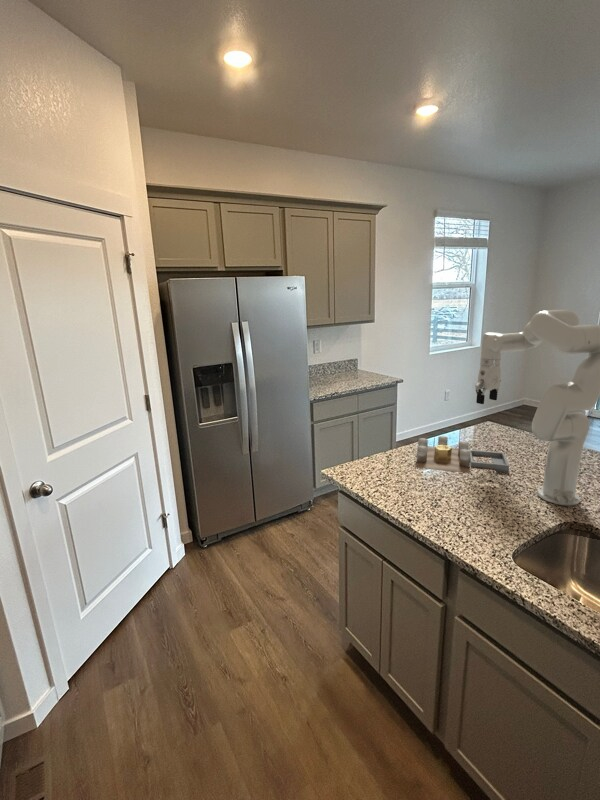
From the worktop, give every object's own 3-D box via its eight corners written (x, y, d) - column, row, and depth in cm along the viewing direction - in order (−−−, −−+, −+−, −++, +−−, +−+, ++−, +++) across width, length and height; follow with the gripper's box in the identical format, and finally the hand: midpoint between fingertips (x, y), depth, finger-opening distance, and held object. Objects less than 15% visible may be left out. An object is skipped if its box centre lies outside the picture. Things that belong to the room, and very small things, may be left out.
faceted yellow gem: (450, 456, 171) (451, 445, 170) (451, 461, 165) (451, 450, 164) (434, 454, 173) (434, 444, 172) (434, 459, 168) (434, 449, 166)
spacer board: (470, 475, 154) (472, 459, 153) (415, 470, 161) (416, 454, 159) (466, 451, 178) (467, 437, 176) (418, 447, 185) (419, 433, 183)
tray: (508, 472, 156) (509, 465, 155) (470, 468, 161) (471, 462, 160) (503, 459, 169) (503, 452, 168) (468, 456, 173) (468, 449, 173)
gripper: (486, 365, 155) (483, 407, 159) (510, 360, 164) (506, 399, 169) (469, 363, 161) (466, 403, 166) (493, 359, 170) (489, 396, 175)
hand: (486, 401), depth 167 cm, fingers open, 9 cm apart
